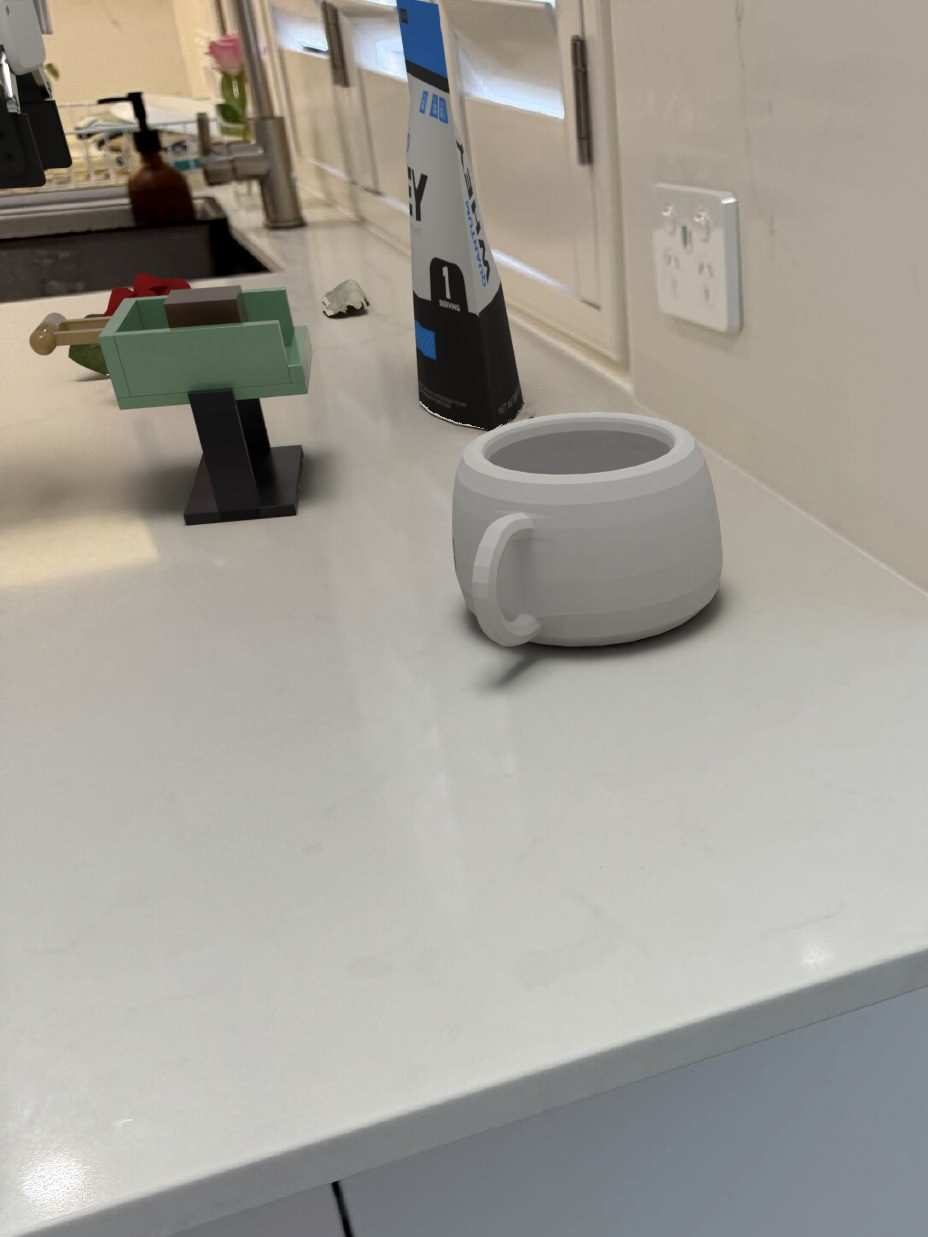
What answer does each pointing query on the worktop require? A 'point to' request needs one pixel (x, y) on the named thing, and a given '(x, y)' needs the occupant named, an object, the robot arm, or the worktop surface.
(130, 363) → the dish
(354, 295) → the grey jagged shell
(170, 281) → the flower
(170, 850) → the worktop surface
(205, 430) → the base
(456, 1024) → the worktop surface
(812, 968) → the worktop surface
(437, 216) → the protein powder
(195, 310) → the block
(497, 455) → the mug
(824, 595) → the worktop surface
